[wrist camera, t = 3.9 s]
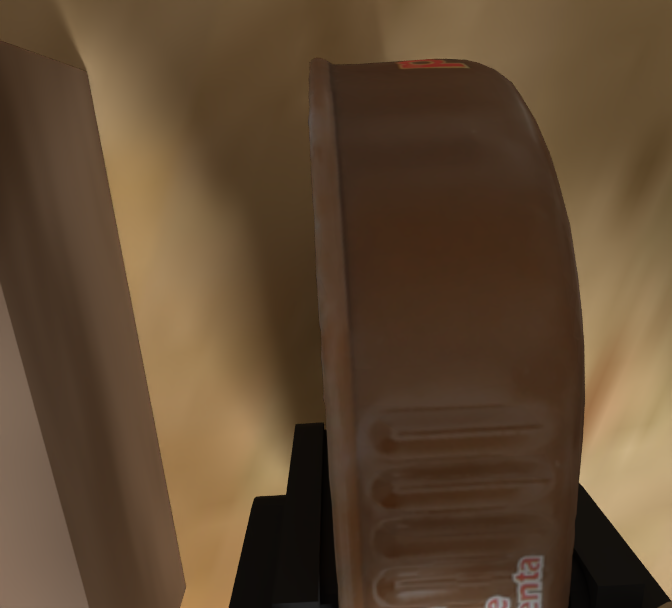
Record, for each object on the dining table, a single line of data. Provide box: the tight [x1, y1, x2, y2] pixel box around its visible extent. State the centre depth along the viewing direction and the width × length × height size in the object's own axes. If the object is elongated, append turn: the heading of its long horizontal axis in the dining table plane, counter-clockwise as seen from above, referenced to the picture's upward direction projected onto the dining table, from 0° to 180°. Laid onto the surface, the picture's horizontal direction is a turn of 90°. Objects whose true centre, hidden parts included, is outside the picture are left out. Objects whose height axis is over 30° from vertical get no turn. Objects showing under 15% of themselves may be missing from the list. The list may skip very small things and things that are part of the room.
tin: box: [308, 58, 585, 608], centre depth 9 cm, size 15×3×8 cm, turn 3°
